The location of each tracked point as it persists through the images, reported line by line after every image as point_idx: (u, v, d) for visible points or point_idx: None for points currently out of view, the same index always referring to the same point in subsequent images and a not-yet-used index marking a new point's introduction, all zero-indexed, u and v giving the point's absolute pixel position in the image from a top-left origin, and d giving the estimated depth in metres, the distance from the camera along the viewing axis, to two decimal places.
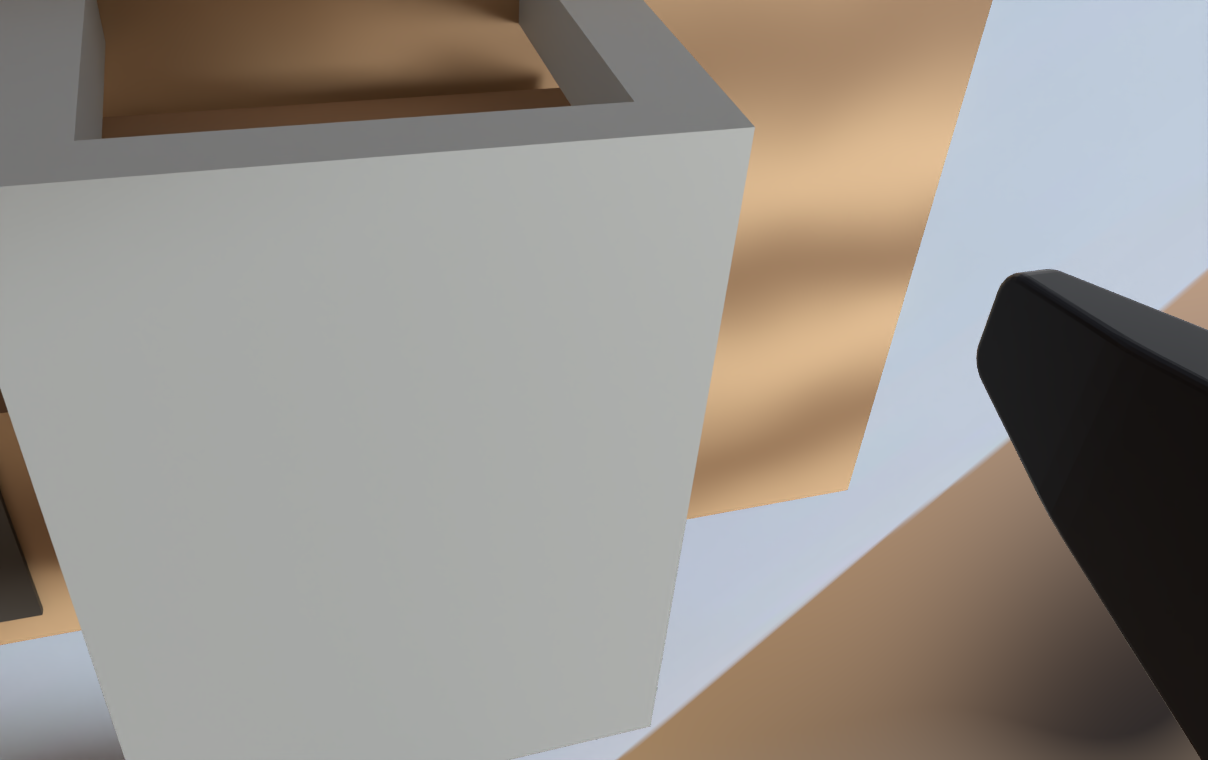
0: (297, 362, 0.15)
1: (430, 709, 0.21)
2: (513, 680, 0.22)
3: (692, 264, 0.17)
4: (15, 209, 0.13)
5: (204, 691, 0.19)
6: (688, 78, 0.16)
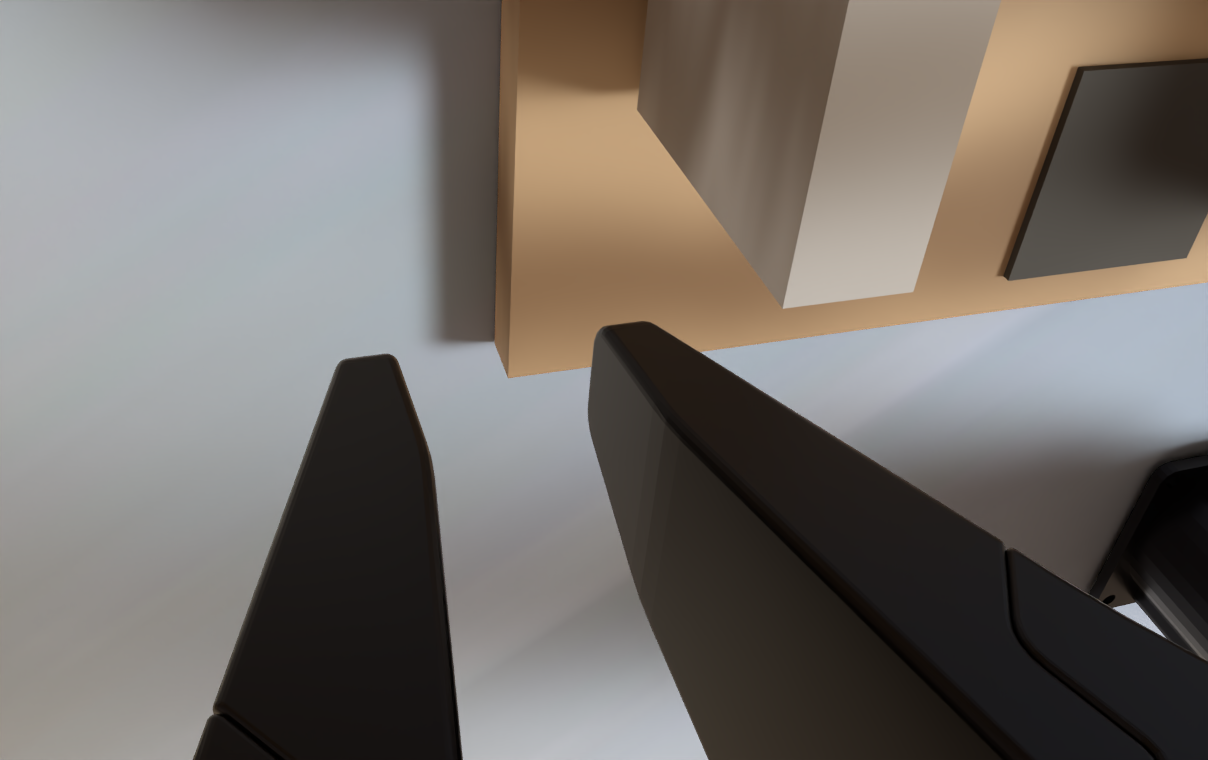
0: None
1: None
2: None
3: None
4: None
5: None
6: None
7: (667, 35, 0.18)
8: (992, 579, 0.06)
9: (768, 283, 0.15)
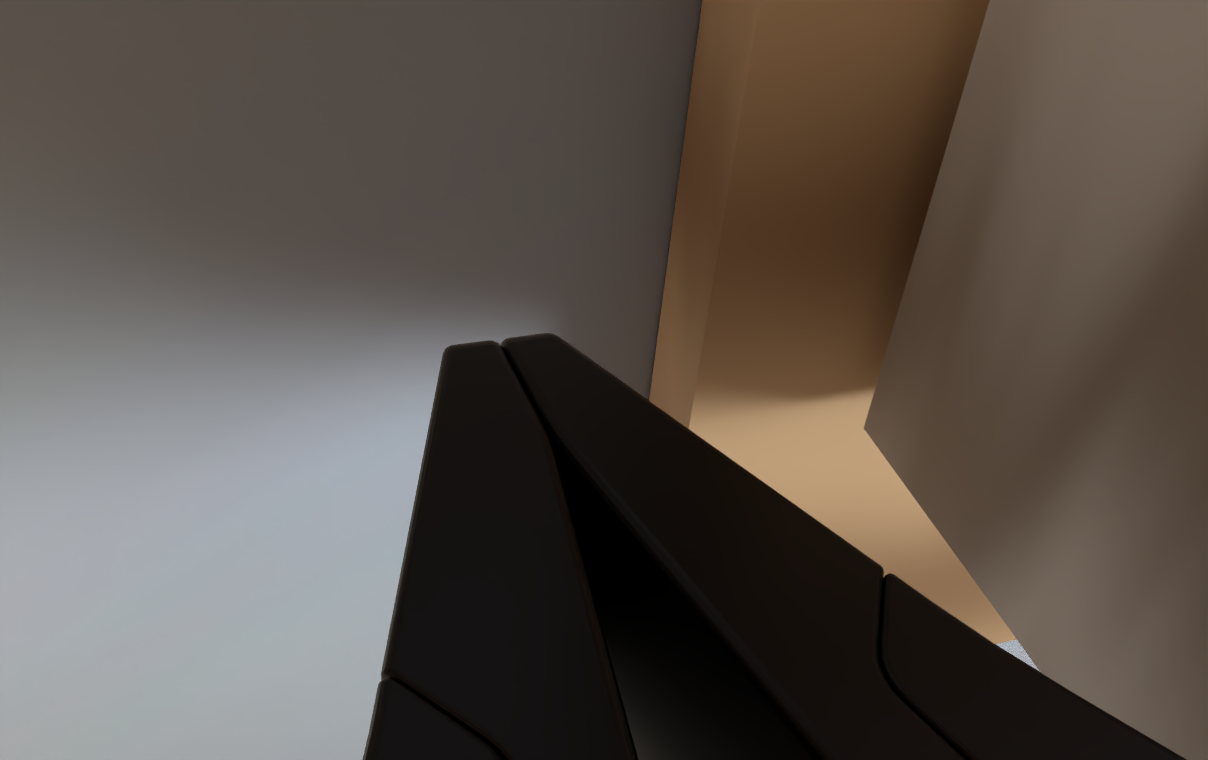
0: None
1: None
2: None
3: None
4: None
5: None
6: None
7: (945, 364, 0.11)
8: (864, 607, 0.06)
9: None
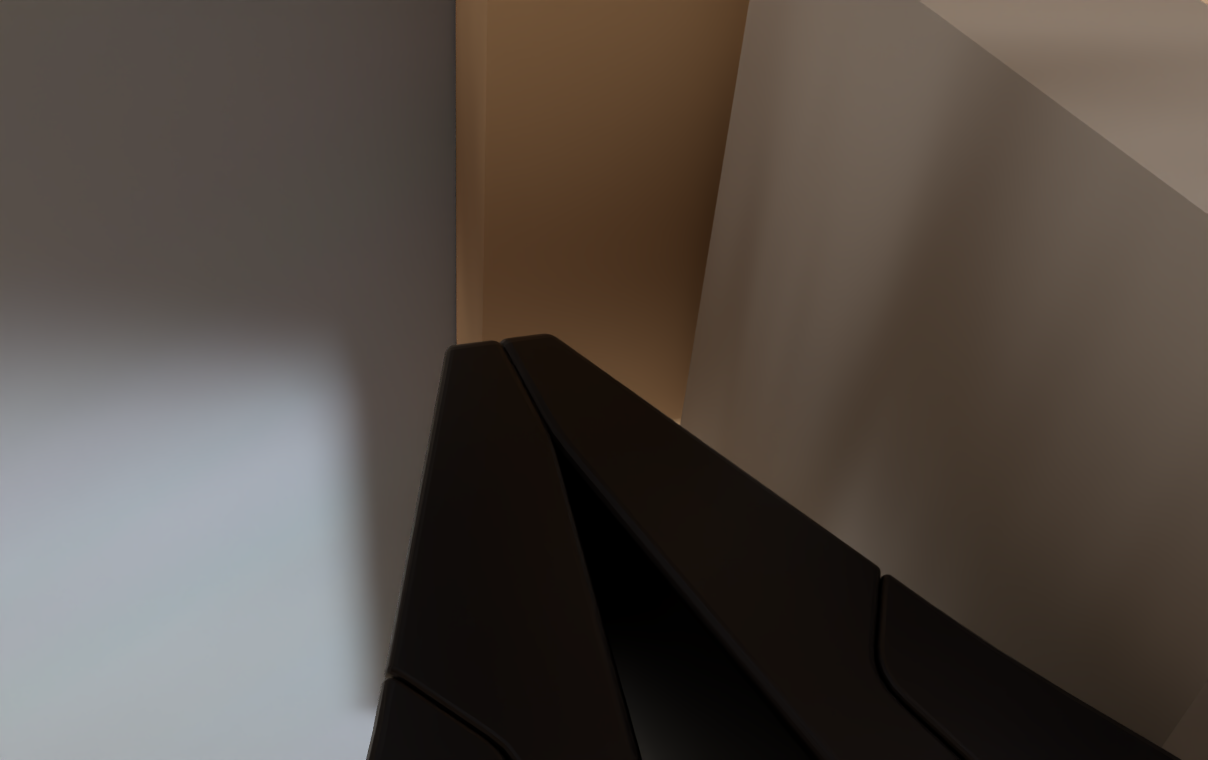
0: None
1: None
2: None
3: None
4: None
5: None
6: None
7: (731, 398, 0.11)
8: (861, 608, 0.06)
9: None
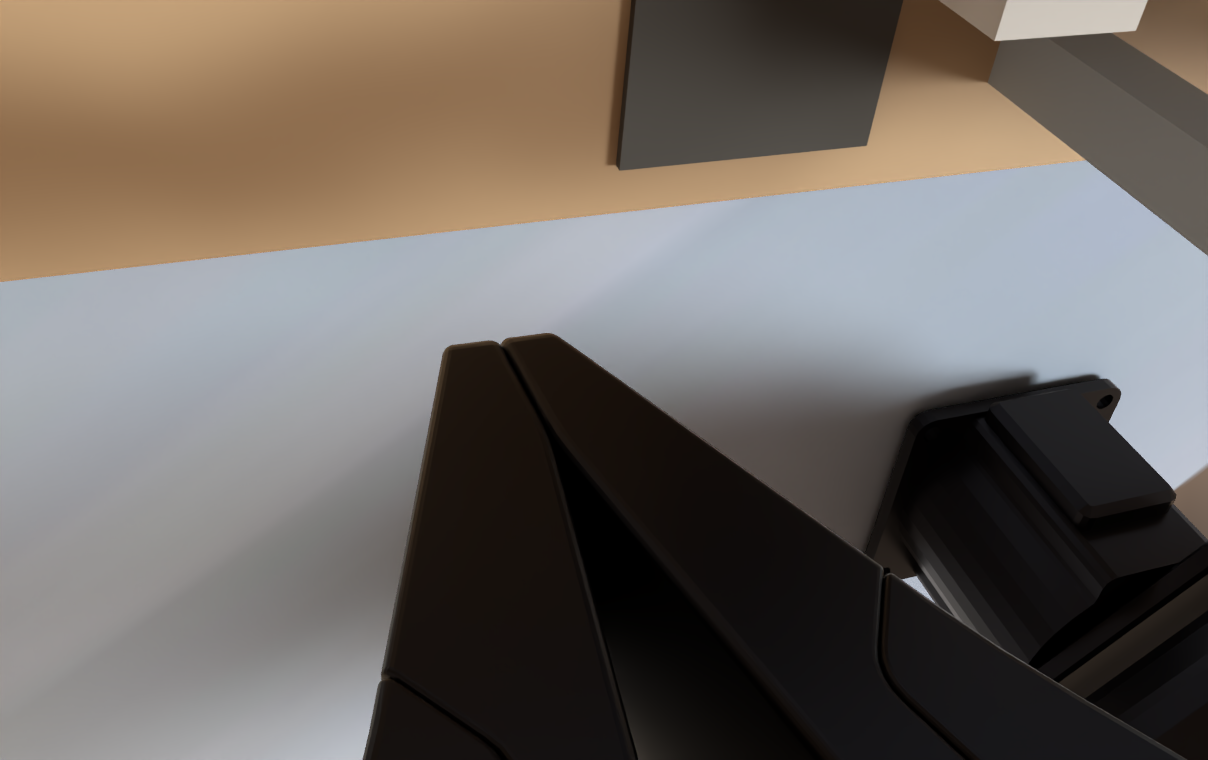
0: None
1: None
2: None
3: None
4: None
5: None
6: None
7: None
8: (865, 607, 0.06)
9: (973, 17, 0.13)
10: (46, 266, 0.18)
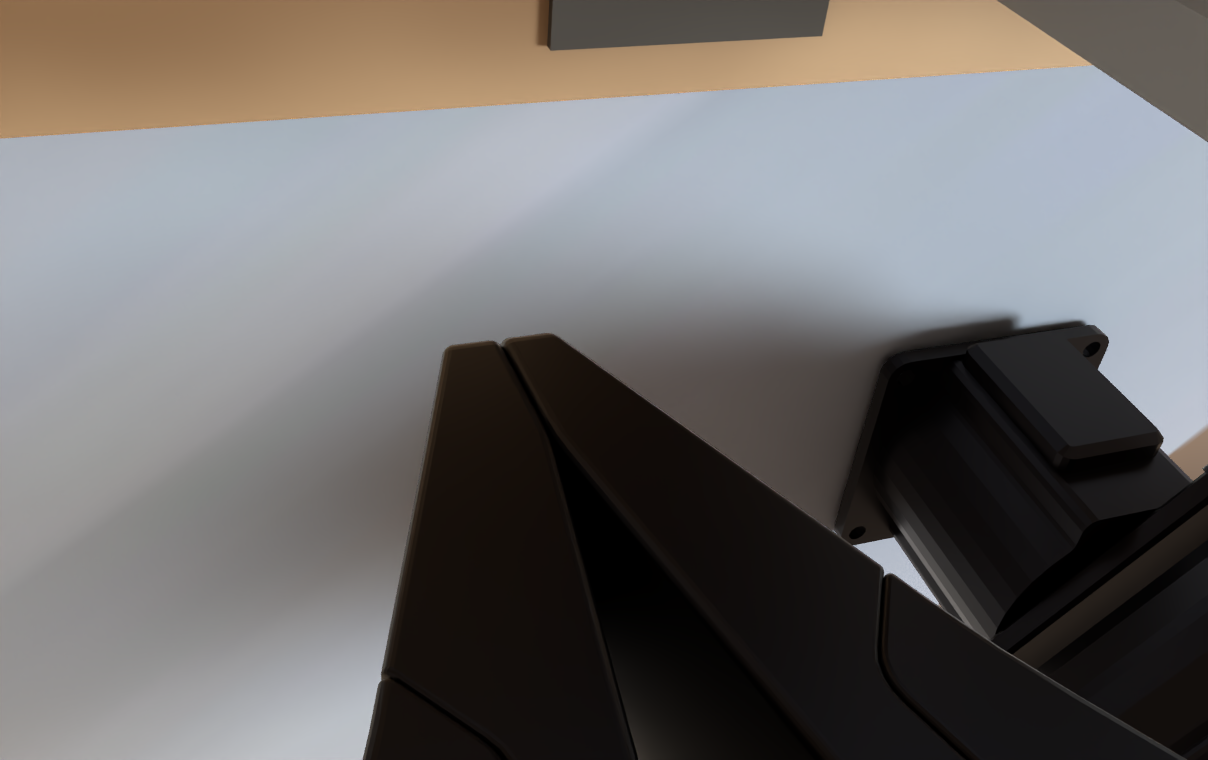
0: None
1: None
2: None
3: None
4: None
5: None
6: None
7: None
8: (865, 607, 0.06)
9: None
10: None
